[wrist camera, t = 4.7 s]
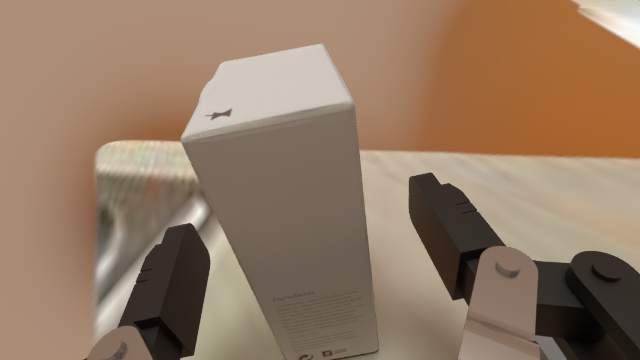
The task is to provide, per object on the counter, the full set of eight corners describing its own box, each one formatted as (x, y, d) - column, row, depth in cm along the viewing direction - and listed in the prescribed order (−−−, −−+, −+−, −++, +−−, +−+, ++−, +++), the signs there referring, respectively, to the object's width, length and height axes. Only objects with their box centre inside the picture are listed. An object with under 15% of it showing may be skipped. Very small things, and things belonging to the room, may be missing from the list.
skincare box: (382, 353, 14) (359, 102, 7) (288, 371, 14) (168, 140, 7) (355, 249, 19) (325, 38, 12) (285, 262, 19) (214, 61, 12)
